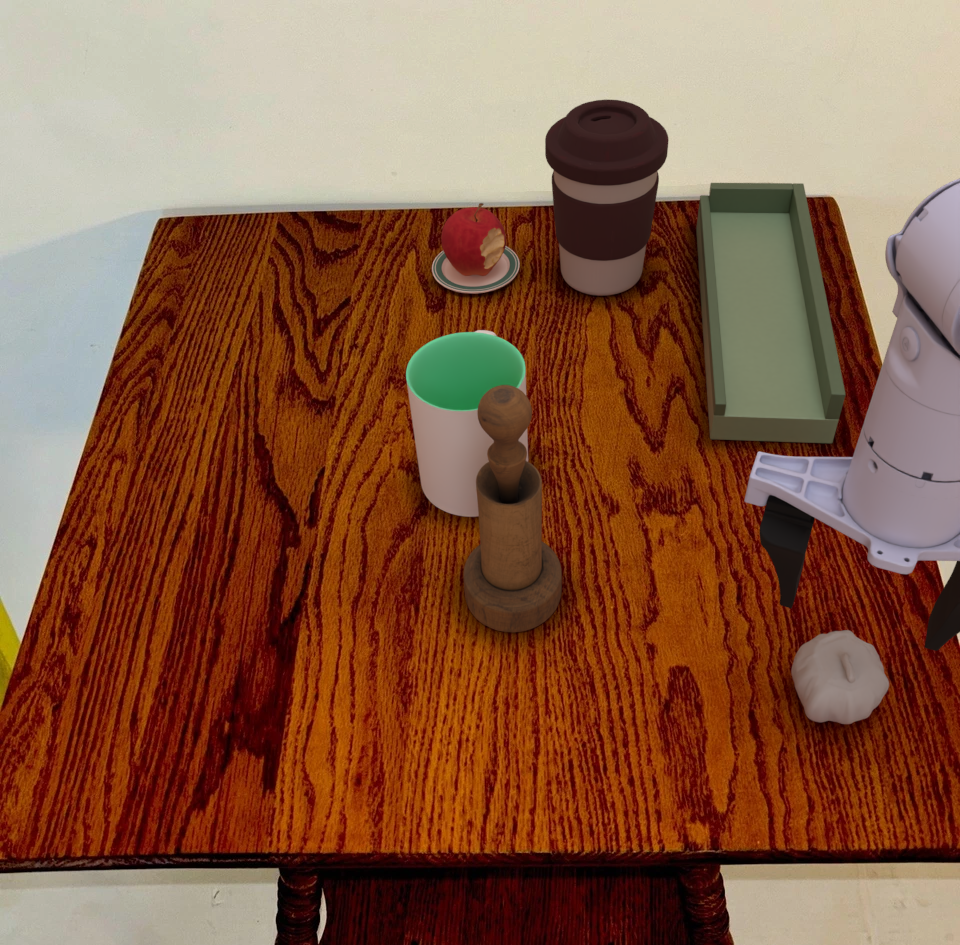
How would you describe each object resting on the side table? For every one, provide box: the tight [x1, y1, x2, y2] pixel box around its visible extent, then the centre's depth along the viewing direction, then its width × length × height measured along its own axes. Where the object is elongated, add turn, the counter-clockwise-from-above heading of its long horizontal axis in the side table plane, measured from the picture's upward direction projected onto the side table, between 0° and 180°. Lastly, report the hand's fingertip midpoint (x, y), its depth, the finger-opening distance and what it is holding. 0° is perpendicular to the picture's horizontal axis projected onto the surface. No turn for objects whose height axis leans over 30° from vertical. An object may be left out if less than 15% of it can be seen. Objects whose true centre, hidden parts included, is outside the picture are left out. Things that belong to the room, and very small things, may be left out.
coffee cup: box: [544, 99, 669, 296], centre depth 88 cm, size 10×10×15 cm
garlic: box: [790, 629, 890, 725], centre depth 61 cm, size 6×5×5 cm
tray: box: [695, 182, 846, 444], centre depth 86 cm, size 28×9×5 cm, turn 174°
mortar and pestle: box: [463, 385, 563, 633], centre depth 63 cm, size 7×6×18 cm
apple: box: [431, 202, 520, 294], centre depth 92 cm, size 8×8×6 cm
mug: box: [405, 329, 529, 518], centre depth 75 cm, size 12×8×10 cm
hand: (859, 613), depth 57 cm, fingers open, 7 cm apart
